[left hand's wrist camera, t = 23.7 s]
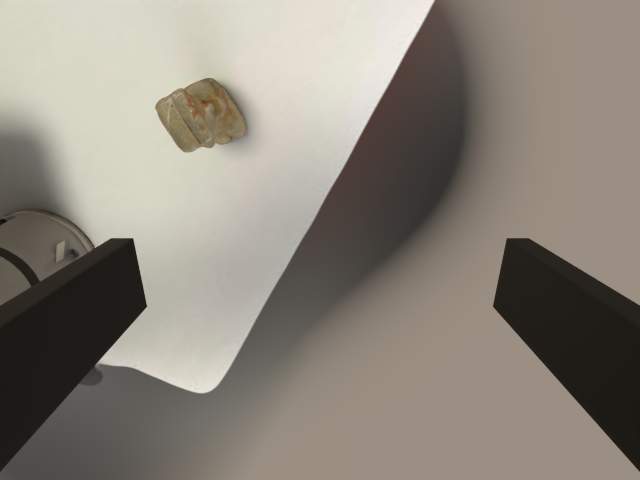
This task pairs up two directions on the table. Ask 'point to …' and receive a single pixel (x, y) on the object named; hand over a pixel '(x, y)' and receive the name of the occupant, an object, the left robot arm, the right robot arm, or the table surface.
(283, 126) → the table surface
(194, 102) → the sculpture
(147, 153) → the table surface
